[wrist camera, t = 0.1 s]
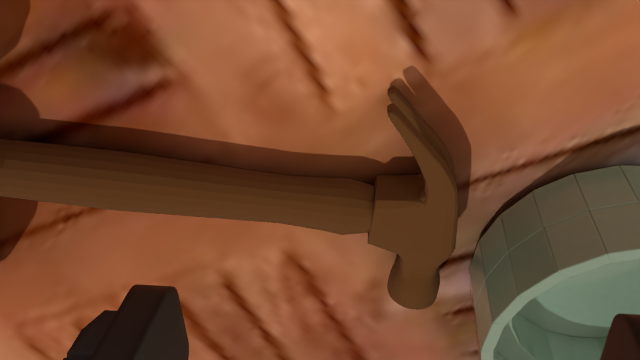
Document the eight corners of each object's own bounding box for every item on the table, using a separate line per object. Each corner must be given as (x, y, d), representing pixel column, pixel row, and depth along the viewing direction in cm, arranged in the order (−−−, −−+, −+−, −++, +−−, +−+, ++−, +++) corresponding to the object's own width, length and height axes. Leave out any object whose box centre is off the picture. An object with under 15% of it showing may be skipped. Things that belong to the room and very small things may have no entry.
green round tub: (484, 154, 28) (502, 238, 23) (801, 163, 27) (894, 255, 22) (456, 342, 36) (465, 434, 31) (697, 358, 35) (747, 457, 30)
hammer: (-66, 203, 34) (434, 276, 33) (-103, 237, 32) (438, 317, 31) (-138, 11, 27) (488, 95, 27) (-193, 35, 25) (498, 129, 24)
